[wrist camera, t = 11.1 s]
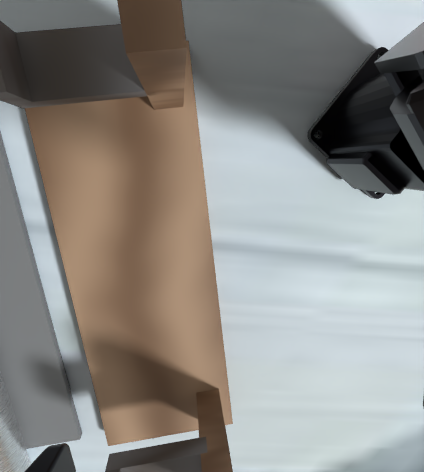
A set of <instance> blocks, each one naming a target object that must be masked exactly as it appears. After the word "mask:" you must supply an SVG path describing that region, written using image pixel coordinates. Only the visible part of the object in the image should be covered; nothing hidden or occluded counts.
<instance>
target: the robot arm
mask: <svg viewBox="0 0 424 472" xmlns="http://www.w3.org/2000/svg"><path fill="white" fill-rule="evenodd" d="M378 54H379V55H380V56H381V57H380V58H379V59H377V56H378ZM315 131H318V132H319V138H315V136H314V133H315ZM308 139H309V141H310V142H311V143H312V144H313V145H314V146H316V147H317V148H318V149H319V150H320V151H321V152H322V153H323V154H324V155H325V156H326V157H327V158H328V159H327V164H328V165H329V166H330V167H331V168H332V169H333V170H334V171H335V172H336V173H337V174H338V175H340V176H341V177H342V178H343V179H344V180H345V181H346V182H347V183H348V184H349V185H350V186H351V187H353V188H355V189H361V190H363V191H364V192H365V193H366V194H367V195H368V196H369V197H371V198H375V199H379V198H381V197H382V196H383V195H384V194H385V193H387V194H400V193H401V192H402V191H403V190H404V189H413V190H421V191H424V22H423V23H422V24H421V25H419V26H418V27H417V28H416V29H415V30H413V31H412V32H411V33H410V34H408V35H407V36H406V37H405V38H403V39H402V40H401V41H400V42H398V43H397V44H396V45H395V46H394V47H392V48H391V49H390V50H389V51H388V49H386V48H384V47H381V48H378V49H376V50H375V51H373V52H372V53H371V54H370V56H369V57H368V58H367V59H366V61H365V62H364V63H363V64H362V65H361V67H360V68H359V69H358V70H357V72H356V73H355V74H354V75H353V77H352V78H351V79H350V80H349V82H348V83H347V84H346V85H345V86H344V88H343V89H342V90H341V91H340V93H339V94H338V95H337V96H336V98H335V99H334V100H333V101H332V103H331V104H330V105H329V106H328V107H327V109H326V110H325V111H324V112H323V114H322V115H321V116H320V117H319V119H318V120H317V121H316V122H315V124H314V125H313V126H312V127H311V129H310V130H309V132H308ZM374 192H377V193H376V194H375V193H374ZM423 407H424V398H423ZM24 472H76V469H75V465H74V462H73V459H72V455H71V452H70V448H69V446H68V445H67V444H65V443H63V444H57V445H52V446H49V447H47V448H46V449H45V450H44V451H43V452H42V453H41V454H40V455H39V456H38V458H37V459H36V460H35V461H34V462H33V463H32V464H31V465H30V466H29V467H28V468H27V469H26V470H25V471H24Z"/></svg>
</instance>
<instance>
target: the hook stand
mask: <svg viewBox="0 0 424 472" xmlns="http://www.w3.org/2000/svg"><path fill="white" fill-rule="evenodd" d="M117 1H118V8H119V14H120V20H121V24H117V25H105V26H92V27H80V28H68V29H55V30H43V31H31V32H18V33H15V32H14V31H12V30H11V29H10V28H9V27H7V26H6V25H5V24H3V23H2V22H1V21H0V101H3V102H6V103H9V104H12V105H15V106H18V107H21V108H25V111H26V116H27V120H28V124H29V128H30V132H31V136H32V140H33V144H34V148H35V152H36V156H37V160H38V164H39V168H40V172H41V176H42V180H43V184H44V188H45V192H46V196H47V200H48V204H49V208H50V212H51V217H52V221H53V225H54V229H55V233H56V237H57V241H58V245H59V249H60V253H61V257H62V261H63V265H64V269H65V273H66V277H67V281H68V285H69V289H70V293H71V297H72V301H73V305H74V309H75V313H76V318H77V322H78V326H79V330H80V334H81V338H82V342H83V346H84V350H85V354H86V358H87V362H88V366H89V370H90V374H91V378H92V382H93V386H94V390H95V394H96V398H97V402H98V406H99V410H100V414H101V419H102V423H103V427H104V431H105V435H106V439H107V443H108V446H111V445H117V444H122V443H128V442H133V441H139V440H145V439H150V438H156V437H161V436H167V435H173V434H178V433H184V432H189V431H195V430H199V438H196V439H190V440H185V441H179V442H174V443H168V444H163V445H157V446H152V447H146V448H140V449H135V450H129V451H124V452H118V453H113V454H109V458H108V462H107V466H106V471H105V472H233V470H232V464H231V458H230V452H229V446H228V441H227V435H226V429H225V425H228V424H233V422H232V413H231V404H230V396H229V387H228V378H227V370H226V361H225V352H224V344H223V335H222V327H221V318H220V309H219V301H218V292H217V283H216V275H215V266H214V257H213V249H212V240H211V231H210V223H209V214H208V206H207V197H206V188H205V180H204V171H203V162H202V154H201V145H200V136H199V128H198V119H197V111H196V102H195V93H194V85H193V76H192V67H191V59H190V50H189V41H186V37H185V29H184V20H183V12H182V3H181V0H117Z"/></svg>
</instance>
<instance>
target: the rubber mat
mask: <svg viewBox="0 0 424 472" xmlns="http://www.w3.org/2000/svg"><path fill="white" fill-rule="evenodd" d="M0 372H1V375H2V378H3V381H4V384H5V387H6V390H7V393H8V396H9V399H10V402H11V405H12V408H13V411H14V414H15V417H16V420H17V423H18V426H19V429H20V432H21V435H22V438H23V441H24V444H25V447H26V449H28V448H33V447H39V446H45V445H50V444H56V443H62V442H67V441H73V440H79V439H80V438H81V435H82V431H81V427H80V424H79V420H78V416H77V413H76V409H75V405H74V402H73V398H72V394H71V391H70V387H69V383H68V380H67V376H66V372H65V368H64V365H63V361H62V357H61V354H60V350H59V346H58V343H57V339H56V335H55V332H54V328H53V324H52V320H51V317H50V313H49V309H48V306H47V302H46V298H45V295H44V291H43V287H42V284H41V280H40V276H39V273H38V269H37V265H36V261H35V258H34V254H33V250H32V247H31V243H30V239H29V236H28V232H27V228H26V225H25V221H24V217H23V214H22V210H21V206H20V202H19V199H18V195H17V191H16V188H15V184H14V180H13V177H12V173H11V169H10V166H9V162H8V158H7V155H6V151H5V147H4V143H3V140H2V136H1V132H0Z"/></svg>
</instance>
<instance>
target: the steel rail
mask: <svg viewBox="0 0 424 472" xmlns="http://www.w3.org/2000/svg"><path fill="white" fill-rule="evenodd" d="M30 465H31V462H30V459H29V456H28V453H27V450H26V447H25V444H24V441H23V438H22V435H21V432H20V429H19V426H18V423H17V420H16V417H15V414H14V411H13V408H12V405H11V402H10V399H9V396H8V393H7V390H6V387H5V384H4V381H3V378H2V375H1V372H0V472H24V471H25V470H26V469H27V468H28V467H29V466H30Z"/></svg>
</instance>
